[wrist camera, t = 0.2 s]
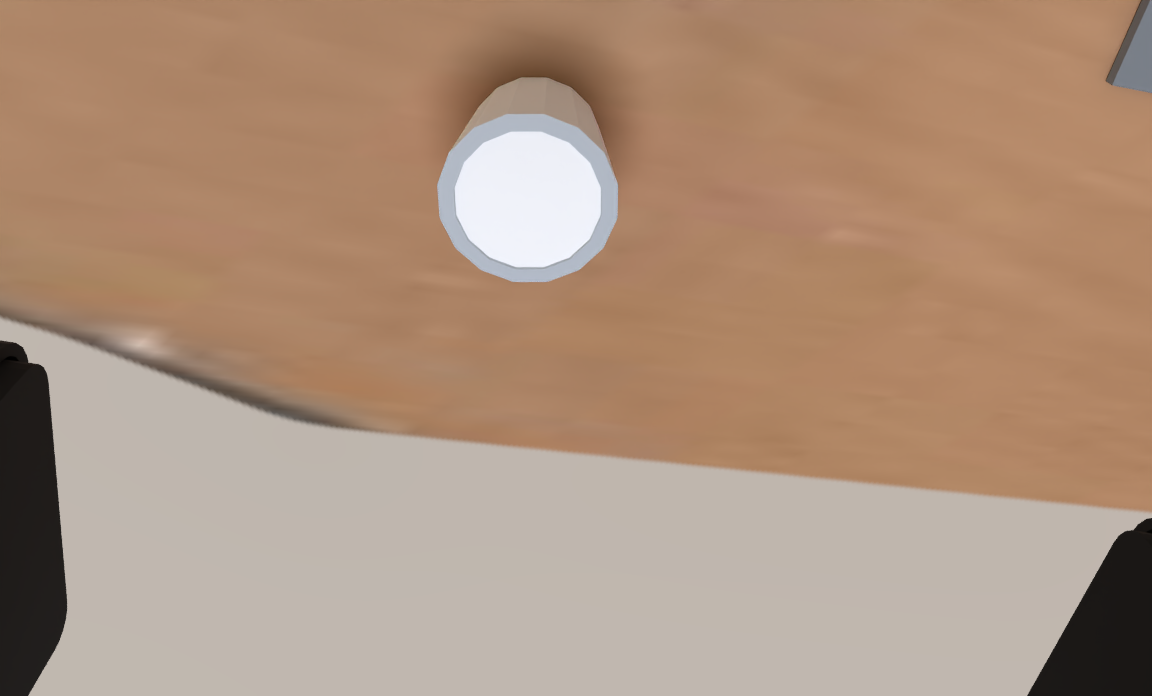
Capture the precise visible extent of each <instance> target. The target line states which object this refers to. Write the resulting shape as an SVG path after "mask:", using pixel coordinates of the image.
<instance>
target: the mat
mask: <svg viewBox="0 0 1152 696" xmlns="http://www.w3.org/2000/svg"><path fill="white" fill-rule="evenodd" d="M1106 81H1107V82H1108V83H1110V84H1111V85H1114V86H1119V87H1124V88H1129V89H1134V90H1139V91H1144V92H1149V93H1152V0H1142V1H1141V3H1140V5H1139V8H1138V10H1137V12H1136V15H1135V17H1134V19H1133V21H1132V24H1131V26H1130V28H1129V30H1128V33H1127V35H1126V37H1125V39H1124V42H1123V44H1122V46H1121V48H1120V51H1119V53H1118V55H1117V57H1116V60H1115V62H1114V64H1113V66H1112V69H1111V71H1110V73H1109V75H1108V78H1107V80H1106Z"/></svg>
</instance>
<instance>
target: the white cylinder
mask: <svg viewBox="0 0 1152 696" xmlns="http://www.w3.org/2000/svg"><path fill="white" fill-rule="evenodd" d="M437 187H438V201H439V215H440V219H441V221H442V223H443V225H444V227H445V229H446V231H447V233H448V235H449V237H450V239H451V241H452V243H453V244H454V246H455V248H456V249H457V250H458V251H460V252H461V253H462V254H463V255H464V256H465V257H467V258H468V259H469V260H470V261H471V262H472V263H473V264H475V265H476V266H477V267H478V268H479V269H480V270H482V271H485V272H488V273H491V274H493V275H496V276H499V277H501V278H504V279H507V280H510V281H512V282H548V281H551V280H554V279H556V278H559V277H562V276H564V275H567V274H570V273H572V272H575V271H578V270H580V269H581V268H582V267H583V266H584V265H585V264H586V263H587V262H588V261H589V260H591V259H592V258H593V257H594V256H595V255H596V254H597V253H598V252H599V251H601V250H602V249H603V248H604V246H605V244H606V241H607V239H608V237H609V235H610V233H611V231H612V228H613V226H614V224H615V222H616V220H617V210H618V183H617V180H616V177H615V174H614V171H613V168H612V165H611V162H610V159H609V156H608V153H607V150H606V147H605V144H604V141H603V138H602V135H601V132H600V129H599V126H598V124H597V122H596V119H595V117H594V114H593V112H592V110H591V107H590V105H589V104H588V103H587V102H586V101H585V100H584V99H583V98H582V97H581V96H580V95H579V94H578V93H577V92H576V91H575V90H574V89H573V88H572V87H569V86H567V85H564V84H562V83H560V82H557V81H555V80H552V79H550V78H547V77H521V78H518V79H516V80H514V81H511V82H509V83H506V84H504V85H502V86H499V87H497V88H496V89H495V90H494V91H493V92H492V93H491V94H490V95H489V96H488V97H487V98H486V99H485V100H484V101H483V102H482V104H481V105H480V106H479V107H478V109H477V110H476V112H475V113H474V115H473V116H472V118H471V120H470V121H469V123H468V124H467V126H466V127H465V129H464V130H463V132H462V133H461V135H460V137H459V138H458V140H457V141H456V143H455V144H454V146H453V147H452V149H451V150H450V152H449V154H448V157H447V160H446V162H445V165H444V168H443V171H442V173H441V176H440V179H439V181H438V184H437Z"/></svg>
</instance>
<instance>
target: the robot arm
mask: <svg viewBox="0 0 1152 696" xmlns="http://www.w3.org/2000/svg"><path fill="white" fill-rule="evenodd" d="M59 513H60V512H59V501H58V489H57V477H56V465H55V454H54V442H53V430H52V418H51V408H50V395H49V383H48V377H47V373H46V371H45V369H44V367H42V366H41V365H39V364H33V363H28V358H27V355H26V353H25V351H24V349H23V347H21V346H20V345H18V344H17V343H13V342H6V341H0V696H28V695H29V693H30V691H31V690H32V688H33V686H34V685H35V683H36V681H37V679H38V678H39V676H40V674H41V673H42V671H43V669H44V667H45V666H46V664H47V662H48V661H49V659H50V657H51V655H52V654H53V652H54V650H55V648H56V646H57V644H58V642H59V640H60V637H61V634H62V632H63V628H64V624H65V620H66V613H67V594H66V583H65V572H64V560H63V548H62V536H61V525H60V514H59ZM1027 696H1152V518H1150V519H1146V520H1144V521H1143V522H1141V523H1140V524H1138V525H1137V527H1136V528H1135V529H1134V530H1131V531H1125V532H1124V533H1122V534H1121V535H1119V536H1118V538H1117V539H1116V541H1115V542H1114V543H1113V545H1112V547H1111V549H1110V550H1109V552H1108V554H1107V556H1106V557H1105V559H1104V561H1103V563H1102V565H1101V566H1100V568H1099V570H1098V571H1097V573H1096V575H1095V577H1094V579H1093V580H1092V582H1091V584H1090V586H1089V587H1088V589H1087V591H1086V593H1085V594H1084V596H1083V598H1082V600H1081V602H1080V603H1079V605H1078V607H1077V609H1076V610H1075V612H1074V614H1073V616H1072V617H1071V619H1070V621H1069V623H1068V625H1067V626H1066V628H1065V630H1064V632H1063V633H1062V635H1061V637H1060V639H1059V640H1058V642H1057V644H1056V646H1055V648H1054V649H1053V651H1052V653H1051V655H1050V657H1049V658H1048V660H1047V662H1046V663H1045V665H1044V667H1043V669H1042V671H1041V672H1040V674H1039V676H1038V678H1037V680H1036V681H1035V683H1034V685H1033V686H1032V688H1031V690H1030V692H1029V694H1028V695H1027Z"/></svg>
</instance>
